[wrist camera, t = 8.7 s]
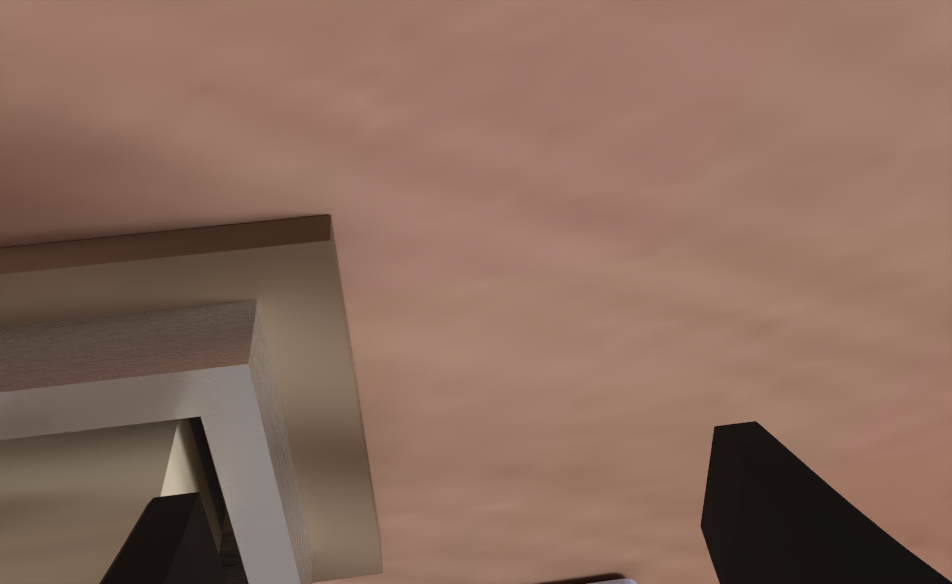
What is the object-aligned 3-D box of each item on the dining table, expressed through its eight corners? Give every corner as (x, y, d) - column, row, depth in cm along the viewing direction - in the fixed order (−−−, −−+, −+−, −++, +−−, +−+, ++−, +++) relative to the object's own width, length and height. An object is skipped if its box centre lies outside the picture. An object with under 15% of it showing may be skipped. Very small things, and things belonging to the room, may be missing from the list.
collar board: (380, 540, 26) (386, 646, 23) (-38, 596, 25) (-89, 714, 22) (330, 214, 20) (328, 300, 17) (-224, 270, 19) (-330, 372, 16)
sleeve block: (225, 509, 23) (194, 727, 18) (52, 531, 22) (-30, 760, 17) (188, 378, 20) (139, 588, 15) (-7, 400, 20) (-122, 623, 15)
